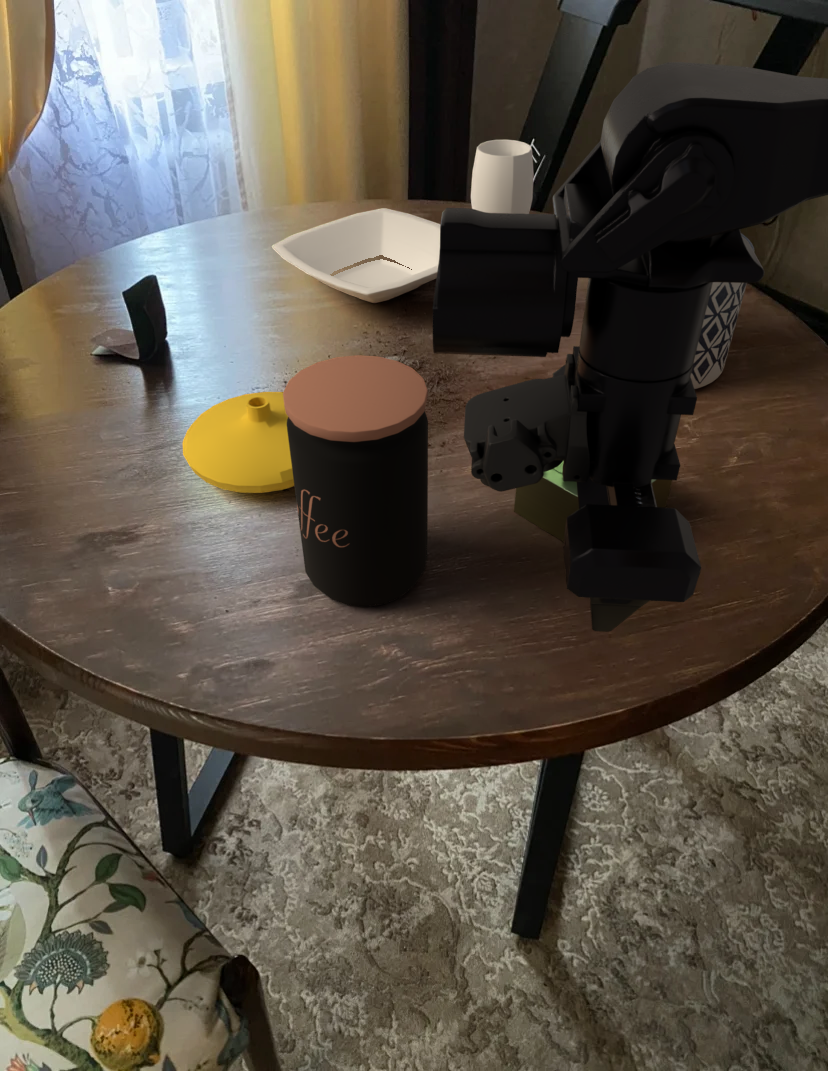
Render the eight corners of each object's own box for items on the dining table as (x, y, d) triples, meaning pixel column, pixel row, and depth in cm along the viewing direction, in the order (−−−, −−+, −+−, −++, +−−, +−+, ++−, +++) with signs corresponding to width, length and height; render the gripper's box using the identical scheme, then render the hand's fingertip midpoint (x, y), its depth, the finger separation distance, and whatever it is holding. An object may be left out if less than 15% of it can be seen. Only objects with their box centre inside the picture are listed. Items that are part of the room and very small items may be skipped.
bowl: (261, 286, 116) (256, 245, 112) (388, 240, 128) (386, 202, 124) (365, 344, 103) (363, 300, 100) (495, 287, 115) (497, 246, 111)
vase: (155, 485, 82) (139, 425, 78) (243, 405, 93) (233, 348, 88) (294, 528, 77) (286, 466, 73) (370, 438, 88) (367, 379, 83)
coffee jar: (292, 543, 76) (268, 368, 64) (404, 518, 78) (401, 344, 66) (322, 626, 68) (301, 444, 56) (445, 594, 71) (449, 414, 59)
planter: (622, 405, 93) (645, 281, 83) (565, 338, 104) (579, 223, 95) (750, 384, 96) (786, 262, 86) (680, 321, 107) (706, 208, 98)
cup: (511, 301, 112) (523, 135, 98) (530, 326, 106) (546, 154, 93) (459, 307, 110) (464, 140, 97) (475, 333, 105) (483, 160, 91)
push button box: (664, 513, 79) (680, 447, 74) (599, 564, 73) (612, 497, 69) (575, 465, 84) (585, 401, 79) (509, 509, 79) (515, 444, 74)
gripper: (479, 271, 50) (469, 479, 60) (472, 456, 36) (461, 685, 46) (669, 275, 49) (626, 485, 59) (737, 466, 35) (666, 697, 46)
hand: (594, 575), depth 53 cm, fingers open, 9 cm apart
